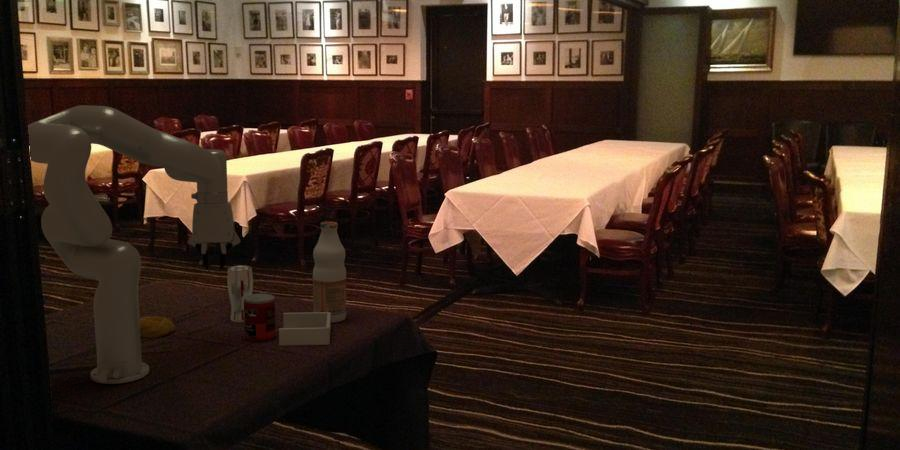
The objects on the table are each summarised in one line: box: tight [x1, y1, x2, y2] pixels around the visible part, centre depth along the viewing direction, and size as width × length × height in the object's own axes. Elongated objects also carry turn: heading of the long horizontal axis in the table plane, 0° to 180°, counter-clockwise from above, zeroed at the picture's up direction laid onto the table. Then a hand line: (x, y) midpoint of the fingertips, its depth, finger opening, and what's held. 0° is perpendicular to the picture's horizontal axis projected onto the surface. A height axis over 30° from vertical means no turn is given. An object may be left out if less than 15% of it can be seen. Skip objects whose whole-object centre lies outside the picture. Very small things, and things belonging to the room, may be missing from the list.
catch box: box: [278, 311, 332, 347], centre depth 219 cm, size 15×13×4 cm
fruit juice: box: [312, 221, 347, 324], centre depth 233 cm, size 9×9×28 cm
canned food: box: [243, 293, 276, 342], centre depth 217 cm, size 8×8×11 cm
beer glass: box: [226, 265, 254, 323], centre depth 232 cm, size 7×7×15 cm
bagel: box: [139, 315, 176, 339], centre depth 220 cm, size 10×11×5 cm
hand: (215, 267), depth 213 cm, fingers open, 3 cm apart
